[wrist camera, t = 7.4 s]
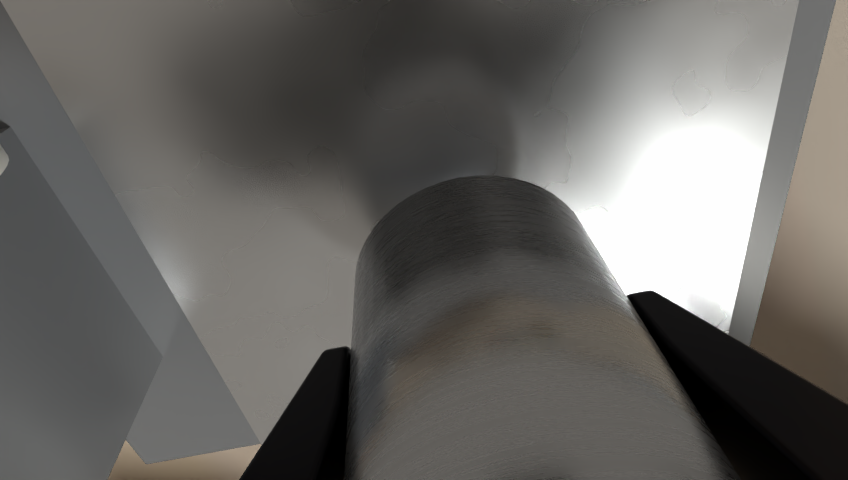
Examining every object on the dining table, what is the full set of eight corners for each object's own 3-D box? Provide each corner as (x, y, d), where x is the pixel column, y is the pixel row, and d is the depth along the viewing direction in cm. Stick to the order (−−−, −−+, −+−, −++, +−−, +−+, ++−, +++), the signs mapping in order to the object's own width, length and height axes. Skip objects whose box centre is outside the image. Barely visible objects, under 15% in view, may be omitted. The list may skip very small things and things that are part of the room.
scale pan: (794, -188, 8) (840, -196, 8) (702, 337, 15) (722, 363, 14) (27, -22, 9) (-9, -14, 8) (267, 416, 16) (261, 445, 15)
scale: (796, -315, 10) (1909, -858, 3) (699, 295, 19) (904, 551, 12) (-212, -91, 11) (-1449, -52, 4) (146, 397, 20) (10, 700, 12)
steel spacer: (592, 152, 8) (903, 526, 3) (589, 344, 11) (770, 723, 6) (326, 202, 9) (258, 631, 4) (382, 380, 11) (388, 781, 6)
